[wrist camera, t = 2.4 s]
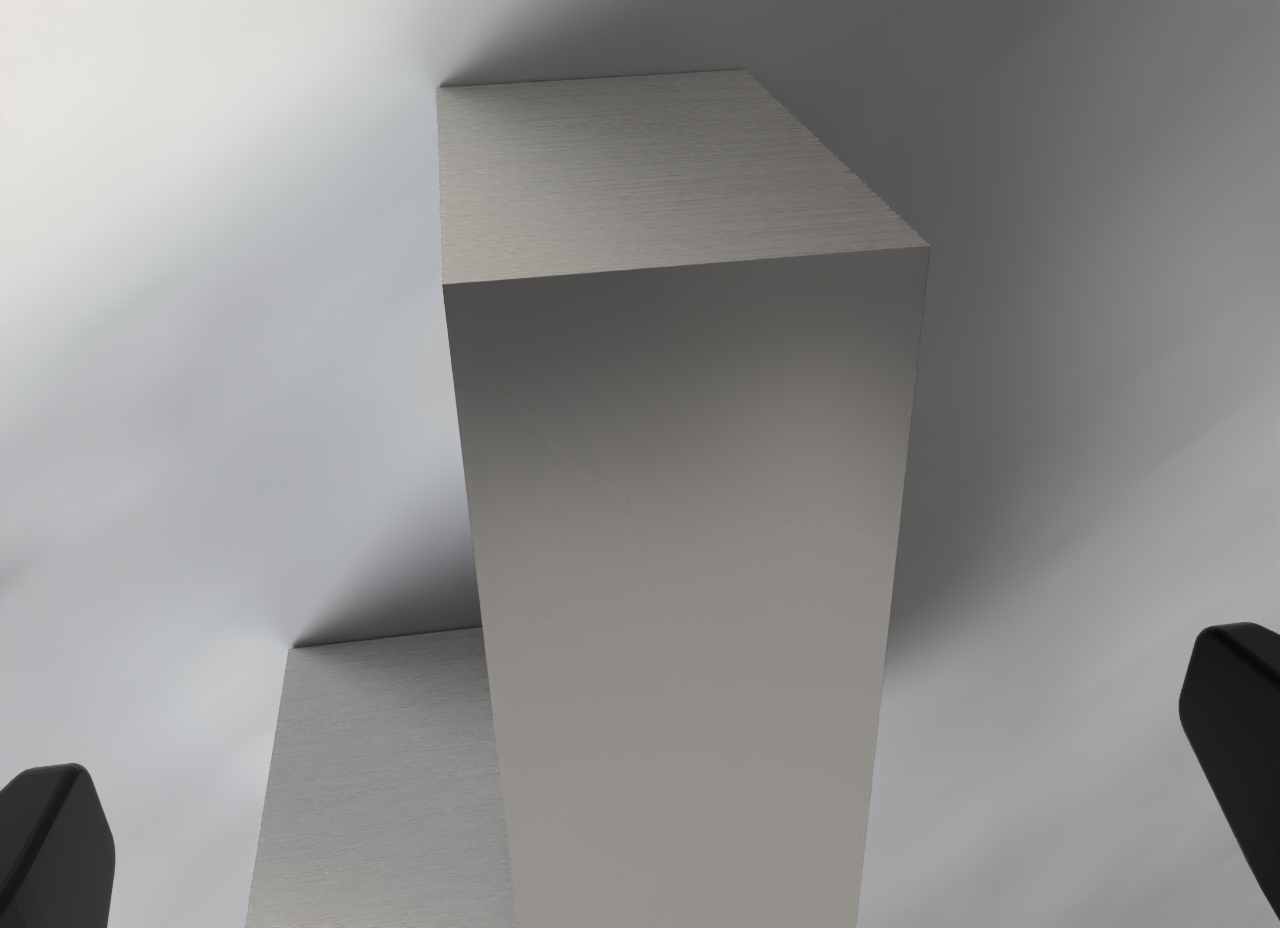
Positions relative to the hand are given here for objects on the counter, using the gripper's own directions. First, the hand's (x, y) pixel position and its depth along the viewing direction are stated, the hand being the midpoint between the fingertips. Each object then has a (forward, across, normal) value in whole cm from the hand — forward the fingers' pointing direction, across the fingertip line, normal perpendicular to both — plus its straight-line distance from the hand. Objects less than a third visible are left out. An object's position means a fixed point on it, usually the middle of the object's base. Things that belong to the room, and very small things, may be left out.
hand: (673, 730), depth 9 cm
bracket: (+5, +1, 0) cm, 5 cm away
